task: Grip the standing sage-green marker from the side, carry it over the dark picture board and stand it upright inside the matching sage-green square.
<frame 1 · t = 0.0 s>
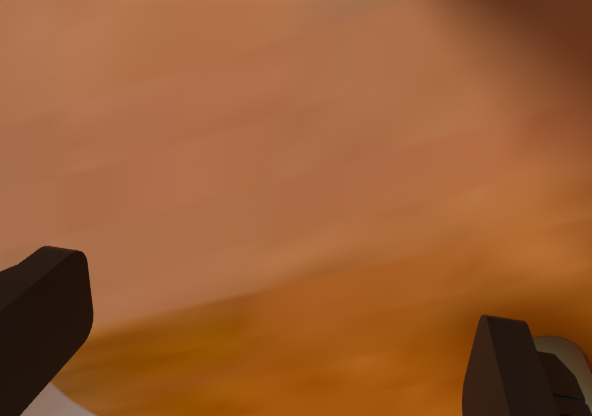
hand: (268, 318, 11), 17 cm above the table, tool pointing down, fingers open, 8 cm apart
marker: (547, 363, 31), on the table
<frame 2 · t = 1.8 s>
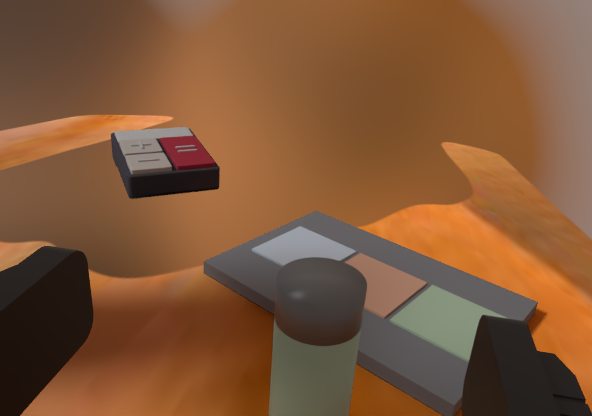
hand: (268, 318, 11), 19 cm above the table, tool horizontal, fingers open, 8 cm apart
calculator: (163, 174, 69), on the table
picture board: (364, 292, 46), on the table
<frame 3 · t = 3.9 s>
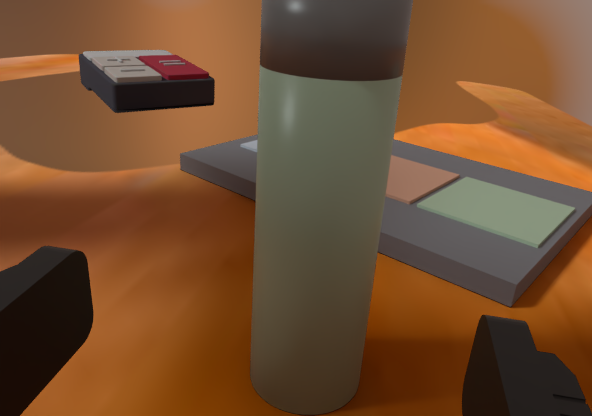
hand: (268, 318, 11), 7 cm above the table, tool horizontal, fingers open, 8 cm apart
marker: (304, 373, 19), on the table
calculator: (145, 96, 61), on the table
picture board: (381, 189, 37), on the table
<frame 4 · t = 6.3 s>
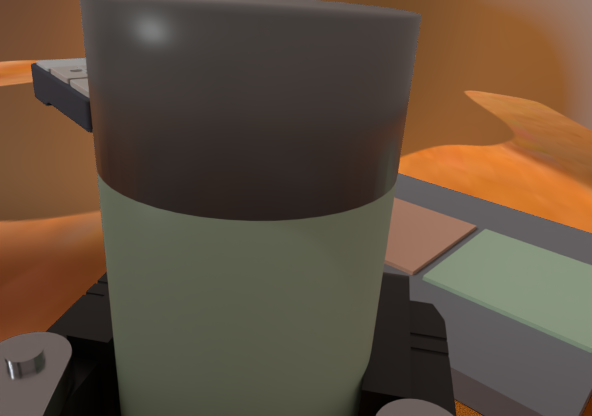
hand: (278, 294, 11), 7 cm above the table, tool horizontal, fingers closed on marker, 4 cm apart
calculator: (114, 110, 54), on the table
picture board: (376, 243, 29), on the table
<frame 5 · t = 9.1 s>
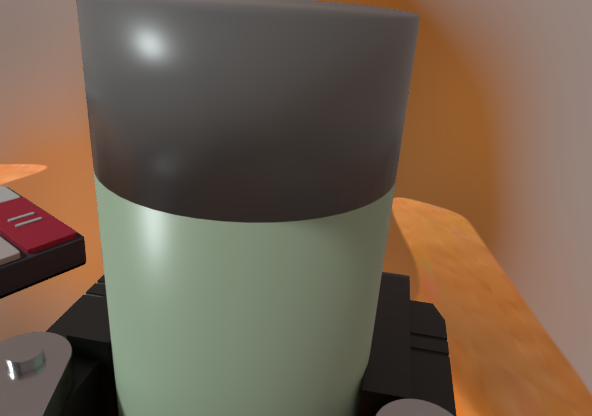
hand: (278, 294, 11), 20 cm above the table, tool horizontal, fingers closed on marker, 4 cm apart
when the fingers open (10 cm above the table, at t = 12.3 s): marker drops 1 cm, resting on picture board.
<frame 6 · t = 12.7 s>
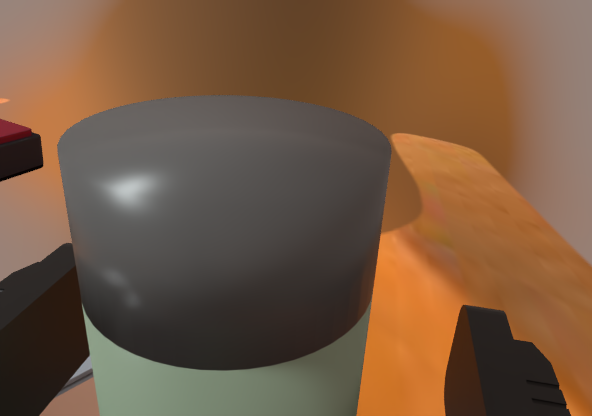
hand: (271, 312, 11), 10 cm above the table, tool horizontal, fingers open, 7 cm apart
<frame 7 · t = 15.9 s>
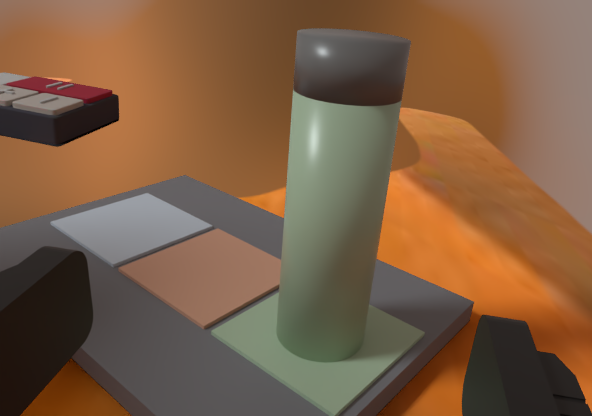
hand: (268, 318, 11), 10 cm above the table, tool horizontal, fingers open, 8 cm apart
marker: (319, 332, 24), point 1 cm above the table, touching picture board
calculator: (31, 126, 56), on the table
picture board: (206, 287, 29), on the table
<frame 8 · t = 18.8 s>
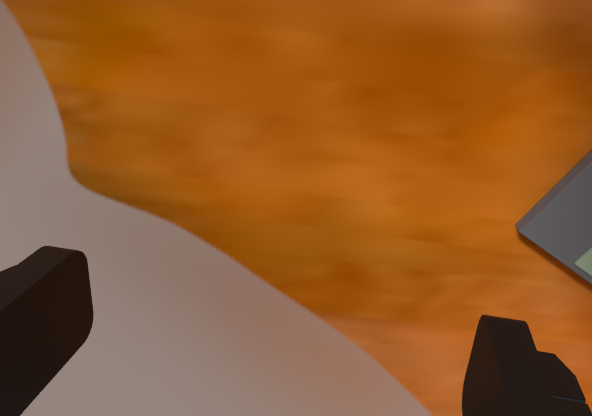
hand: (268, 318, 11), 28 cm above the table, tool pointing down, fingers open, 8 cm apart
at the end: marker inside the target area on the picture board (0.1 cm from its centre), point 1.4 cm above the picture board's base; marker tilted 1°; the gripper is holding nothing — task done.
